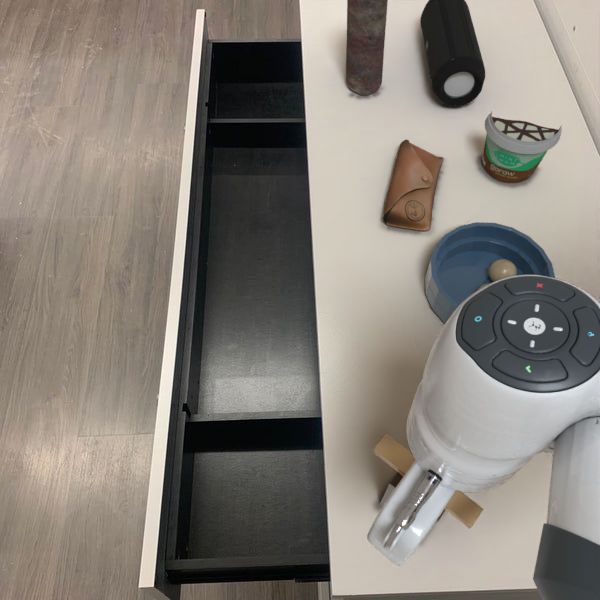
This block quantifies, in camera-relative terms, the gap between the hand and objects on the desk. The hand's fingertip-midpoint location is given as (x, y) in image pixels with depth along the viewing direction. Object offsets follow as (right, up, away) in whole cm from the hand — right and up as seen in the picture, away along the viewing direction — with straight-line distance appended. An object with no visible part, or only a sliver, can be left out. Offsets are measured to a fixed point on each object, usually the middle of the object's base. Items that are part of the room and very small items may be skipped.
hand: (437, 472), depth 52 cm
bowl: (+15, +18, +30) cm, 38 cm away
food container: (+23, +39, +43) cm, 62 cm away
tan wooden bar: (0, -2, +4) cm, 5 cm away
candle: (-1, +61, +57) cm, 83 cm away
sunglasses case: (+7, +36, +42) cm, 55 cm away
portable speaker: (+17, +64, +58) cm, 89 cm away
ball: (+17, +22, +31) cm, 41 cm away
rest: (0, -9, +15) cm, 17 cm away
